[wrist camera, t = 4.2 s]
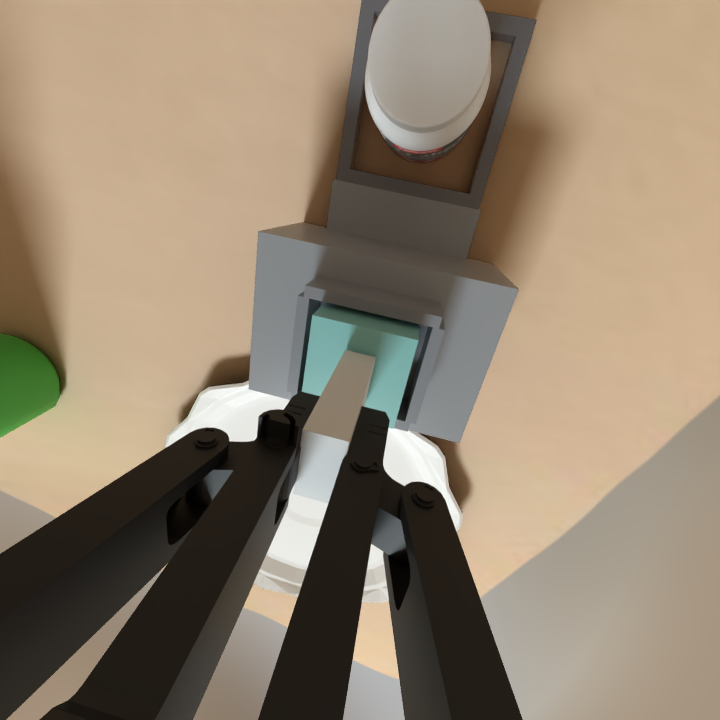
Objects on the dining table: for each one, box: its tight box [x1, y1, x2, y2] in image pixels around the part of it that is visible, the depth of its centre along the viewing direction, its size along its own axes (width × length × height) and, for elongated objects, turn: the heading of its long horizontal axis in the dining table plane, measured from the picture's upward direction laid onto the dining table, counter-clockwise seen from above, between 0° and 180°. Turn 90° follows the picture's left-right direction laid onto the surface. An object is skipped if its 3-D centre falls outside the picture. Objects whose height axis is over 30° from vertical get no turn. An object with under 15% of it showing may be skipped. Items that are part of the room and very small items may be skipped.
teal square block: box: [302, 302, 419, 429], centre depth 19 cm, size 5×5×3 cm
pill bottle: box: [365, 0, 491, 163], centre depth 18 cm, size 6×6×10 cm
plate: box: [165, 380, 462, 603], centre depth 37 cm, size 29×29×2 cm
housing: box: [248, 0, 536, 443], centre depth 21 cm, size 23×14×10 cm, turn 169°
